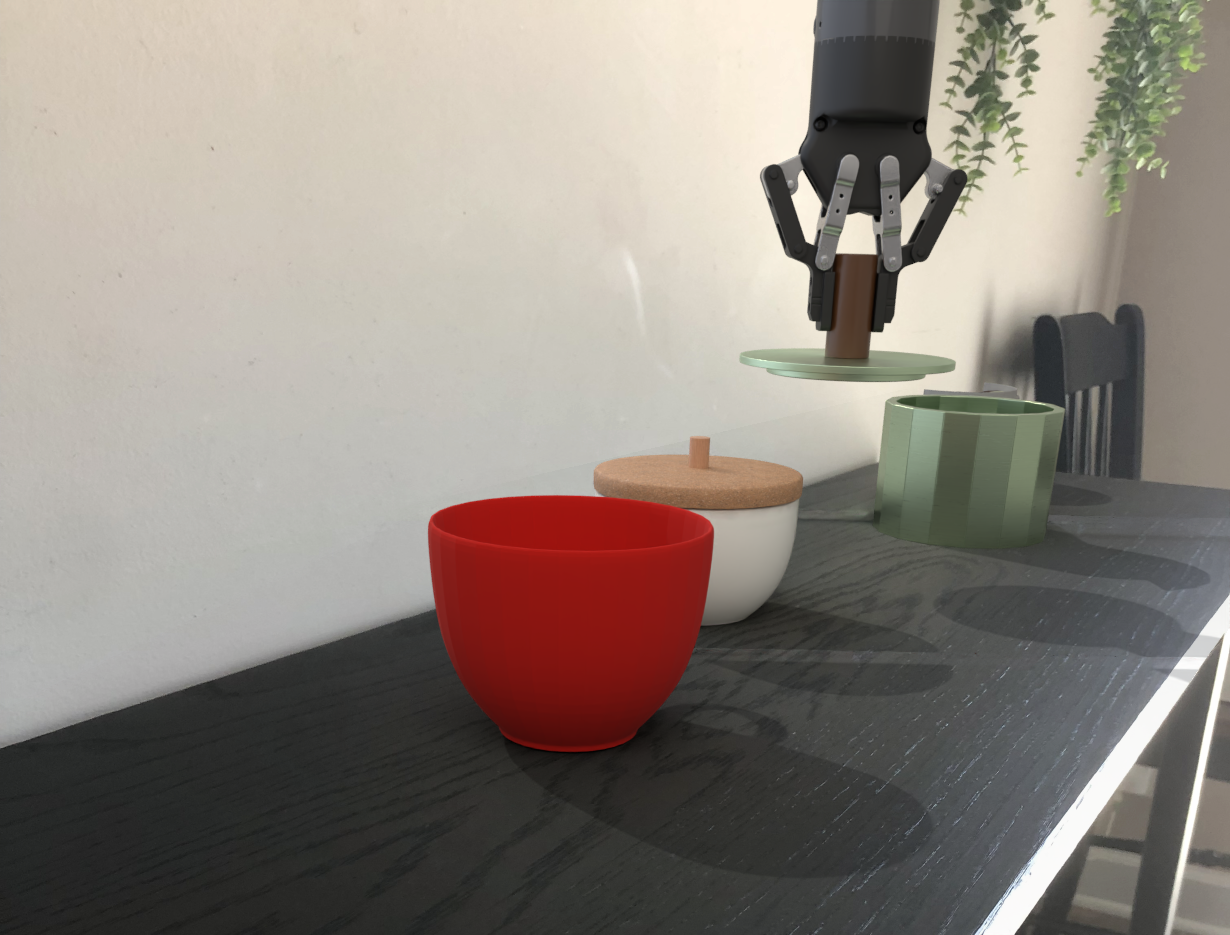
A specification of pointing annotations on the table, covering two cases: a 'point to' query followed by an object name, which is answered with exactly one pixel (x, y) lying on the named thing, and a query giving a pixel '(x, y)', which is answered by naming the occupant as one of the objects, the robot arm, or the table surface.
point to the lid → (849, 338)
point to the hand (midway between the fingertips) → (849, 329)
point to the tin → (967, 470)
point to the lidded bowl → (721, 516)
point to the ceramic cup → (569, 611)
